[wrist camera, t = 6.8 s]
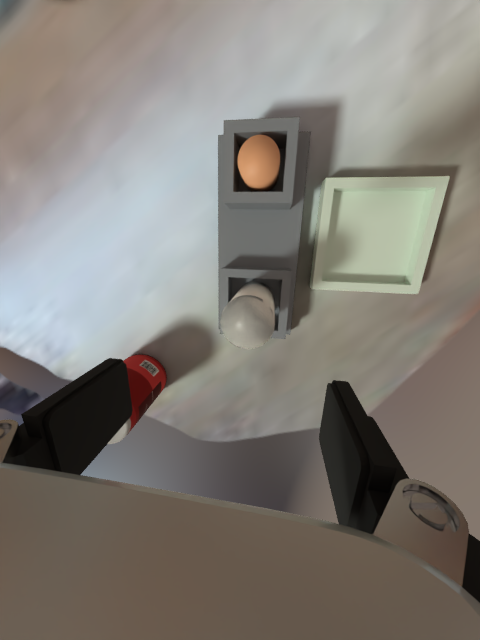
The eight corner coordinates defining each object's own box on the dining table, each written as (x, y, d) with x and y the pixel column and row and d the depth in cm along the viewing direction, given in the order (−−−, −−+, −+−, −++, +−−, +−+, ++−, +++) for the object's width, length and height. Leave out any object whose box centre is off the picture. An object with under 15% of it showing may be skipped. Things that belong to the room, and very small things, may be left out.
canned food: (120, 351, 37) (61, 390, 27) (165, 354, 36) (122, 396, 26) (127, 390, 40) (75, 441, 29) (170, 394, 38) (132, 448, 28)
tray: (321, 183, 26) (325, 177, 24) (434, 182, 25) (449, 176, 22) (309, 286, 30) (312, 289, 28) (406, 290, 28) (418, 294, 26)
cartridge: (237, 280, 29) (220, 295, 20) (275, 282, 29) (276, 298, 19) (236, 317, 31) (220, 346, 22) (272, 319, 30) (272, 350, 21)
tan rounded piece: (243, 153, 25) (238, 135, 21) (280, 151, 24) (281, 133, 20) (242, 194, 26) (237, 184, 22) (277, 193, 25) (278, 184, 21)
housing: (221, 141, 26) (208, 114, 21) (308, 138, 25) (317, 109, 20) (221, 325, 33) (211, 339, 28) (289, 330, 32) (292, 346, 27)
